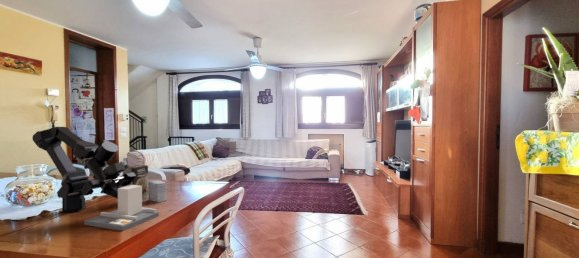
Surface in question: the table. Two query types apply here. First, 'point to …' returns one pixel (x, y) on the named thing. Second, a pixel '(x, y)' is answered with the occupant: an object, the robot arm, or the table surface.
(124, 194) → the toggle
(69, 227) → the table surface
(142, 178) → the coffee box
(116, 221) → the switch board
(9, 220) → the table surface
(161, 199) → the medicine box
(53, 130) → the robot arm
